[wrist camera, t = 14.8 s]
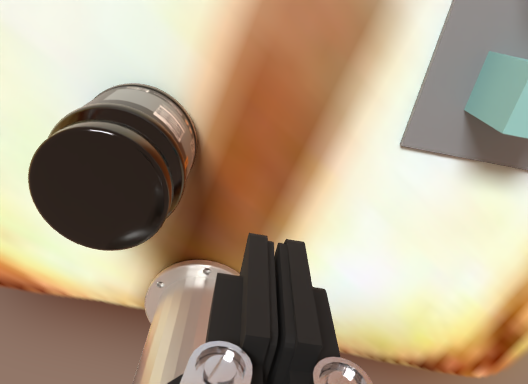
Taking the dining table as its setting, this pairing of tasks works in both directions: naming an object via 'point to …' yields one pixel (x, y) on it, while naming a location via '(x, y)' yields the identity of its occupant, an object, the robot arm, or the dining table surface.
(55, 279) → the dining table surface
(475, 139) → the grey plate with knob
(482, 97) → the teal rectangular block
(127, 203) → the supplement container
